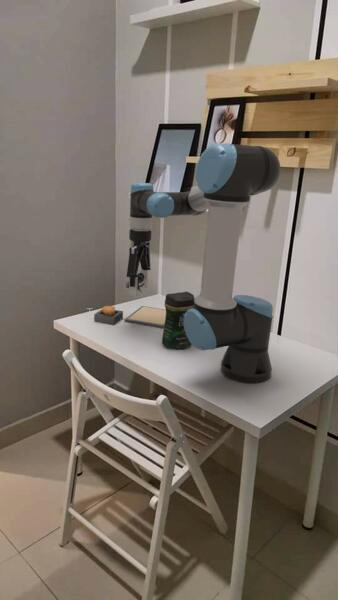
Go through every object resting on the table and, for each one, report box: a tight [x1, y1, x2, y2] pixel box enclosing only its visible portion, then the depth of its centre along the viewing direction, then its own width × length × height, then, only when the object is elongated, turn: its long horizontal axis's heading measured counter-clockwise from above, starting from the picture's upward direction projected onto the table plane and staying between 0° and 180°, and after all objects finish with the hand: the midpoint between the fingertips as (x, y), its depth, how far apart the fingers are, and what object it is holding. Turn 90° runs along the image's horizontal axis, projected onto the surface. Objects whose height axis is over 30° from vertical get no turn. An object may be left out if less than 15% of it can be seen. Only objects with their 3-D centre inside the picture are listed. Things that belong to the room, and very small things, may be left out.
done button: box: [102, 305, 116, 316], centre depth 178 cm, size 5×5×2 cm
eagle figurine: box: [125, 272, 145, 293], centre depth 168 cm, size 8×7×9 cm
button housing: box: [93, 308, 124, 326], centre depth 179 cm, size 8×8×3 cm
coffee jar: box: [161, 291, 195, 351], centre depth 156 cm, size 10×8×19 cm
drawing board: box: [123, 305, 166, 330], centre depth 184 cm, size 18×16×1 cm
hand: (138, 291), depth 169 cm, fingers closed on eagle figurine, 10 cm apart
